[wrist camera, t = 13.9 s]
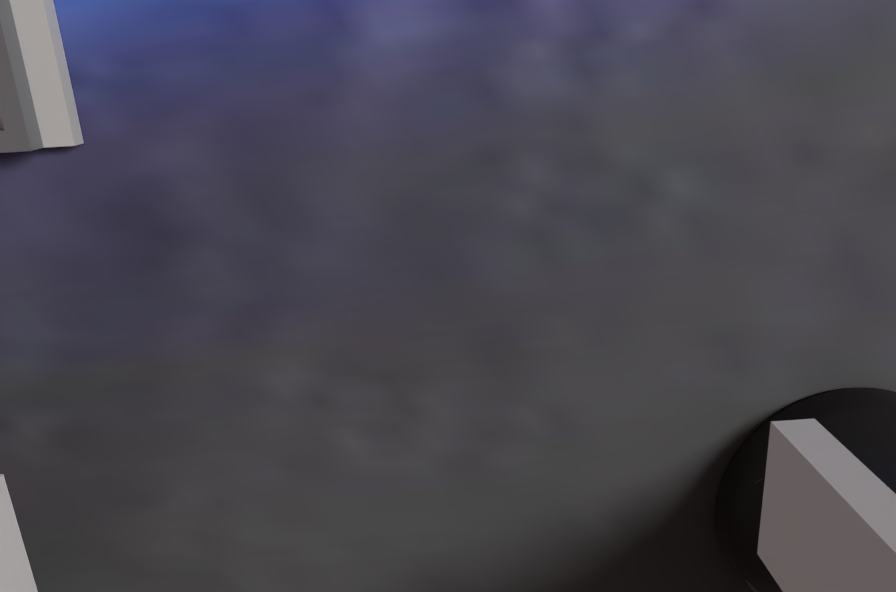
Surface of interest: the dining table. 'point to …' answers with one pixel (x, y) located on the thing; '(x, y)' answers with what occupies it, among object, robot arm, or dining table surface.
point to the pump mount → (34, 80)
